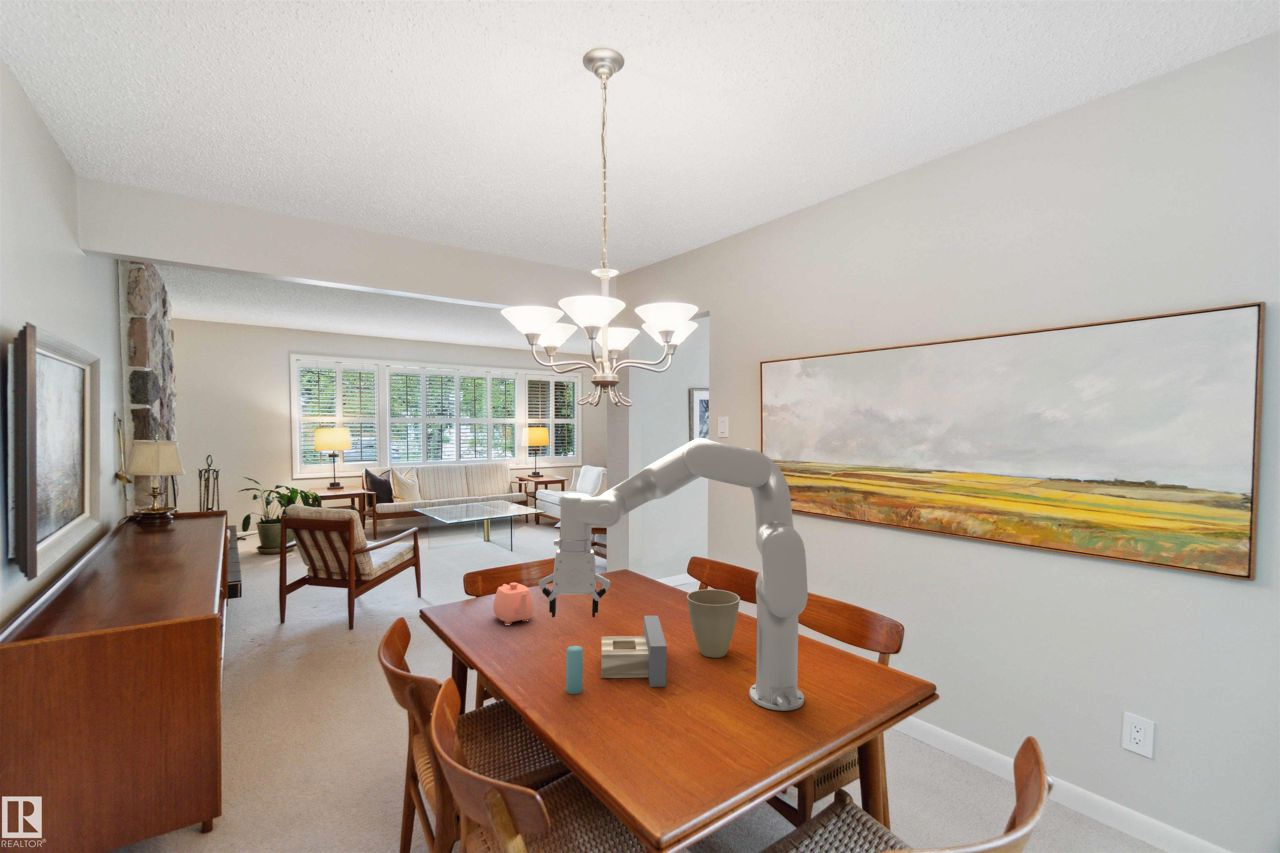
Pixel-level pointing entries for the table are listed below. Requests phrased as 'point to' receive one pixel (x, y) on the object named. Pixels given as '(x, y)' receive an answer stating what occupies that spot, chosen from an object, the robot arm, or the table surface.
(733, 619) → the plant pot
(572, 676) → the dowel
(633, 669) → the socket block
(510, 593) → the teapot
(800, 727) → the table surface
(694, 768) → the table surface
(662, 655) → the rail
